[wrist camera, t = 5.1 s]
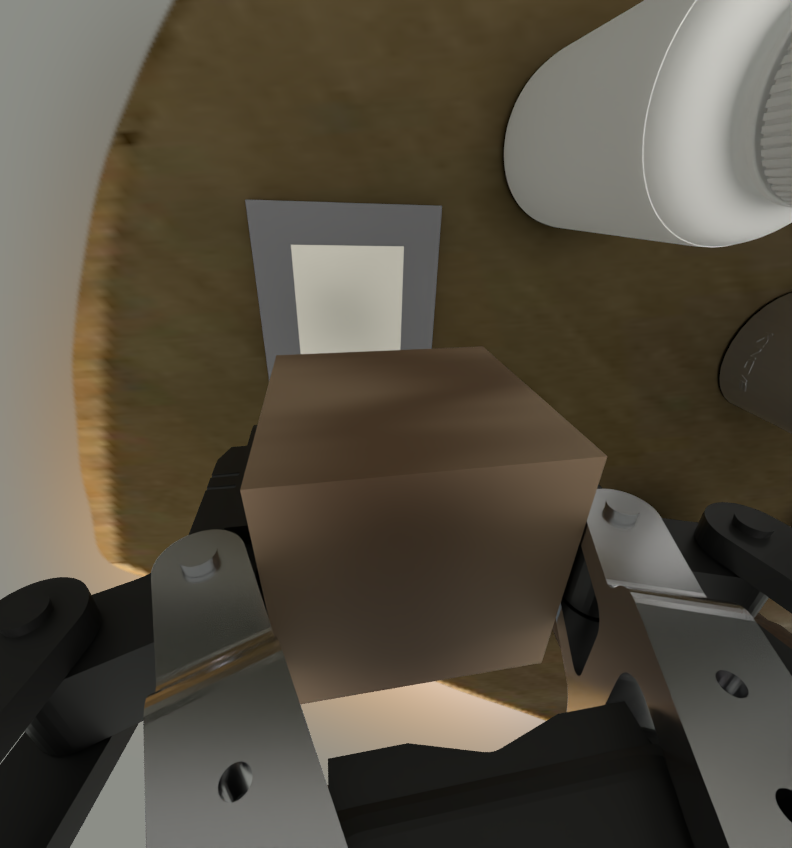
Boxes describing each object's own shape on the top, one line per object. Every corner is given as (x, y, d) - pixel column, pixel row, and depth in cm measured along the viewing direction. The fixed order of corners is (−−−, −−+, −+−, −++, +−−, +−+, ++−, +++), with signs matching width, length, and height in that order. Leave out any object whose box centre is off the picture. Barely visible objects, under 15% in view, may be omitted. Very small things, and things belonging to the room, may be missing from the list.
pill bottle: (497, 238, 23) (724, 284, 10) (500, 54, 19) (877, -249, 6) (625, 219, 24) (989, 241, 11) (653, 38, 20) (1279, -264, 7)
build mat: (439, 205, 22) (442, 205, 21) (427, 377, 27) (429, 381, 26) (247, 199, 20) (244, 199, 20) (271, 383, 25) (269, 387, 24)
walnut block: (482, 346, 10) (607, 456, 6) (464, 502, 12) (541, 662, 8) (276, 354, 9) (240, 489, 5) (299, 519, 12) (287, 706, 7)
